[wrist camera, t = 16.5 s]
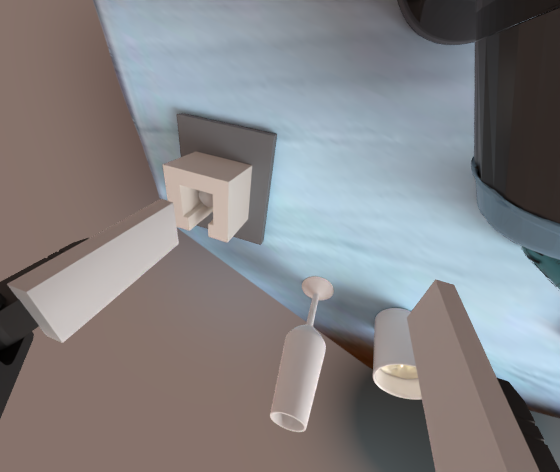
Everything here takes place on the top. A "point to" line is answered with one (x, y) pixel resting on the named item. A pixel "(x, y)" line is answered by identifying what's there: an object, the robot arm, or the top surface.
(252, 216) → the base plate
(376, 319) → the candle holder
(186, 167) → the beige notched hollow block
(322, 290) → the champagne flute
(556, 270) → the beverage bottle
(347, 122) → the top surface
